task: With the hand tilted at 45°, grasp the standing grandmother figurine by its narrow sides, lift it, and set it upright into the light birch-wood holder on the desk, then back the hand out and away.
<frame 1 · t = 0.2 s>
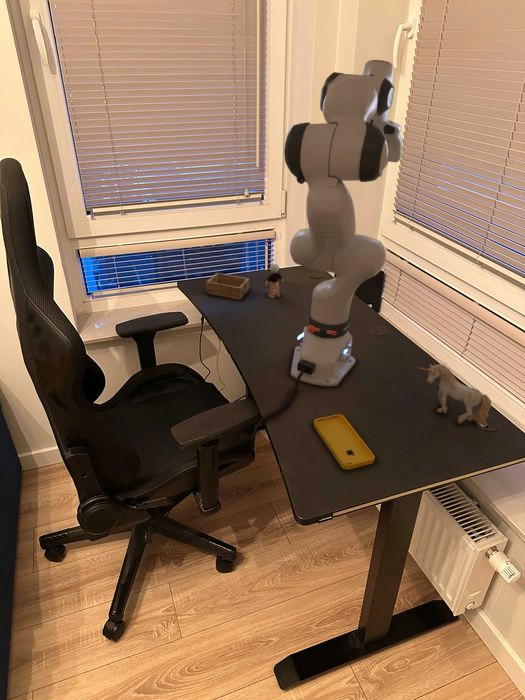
hand: (363, 174, 152), 48 cm above the table, tool pointing down, fingers open, 8 cm apart
holder: (228, 291, 190), on the table
unicorn figurine: (444, 419, 130), on the table
phone case: (342, 442, 121), on the table
grandmother figurine: (273, 296, 188), on the table
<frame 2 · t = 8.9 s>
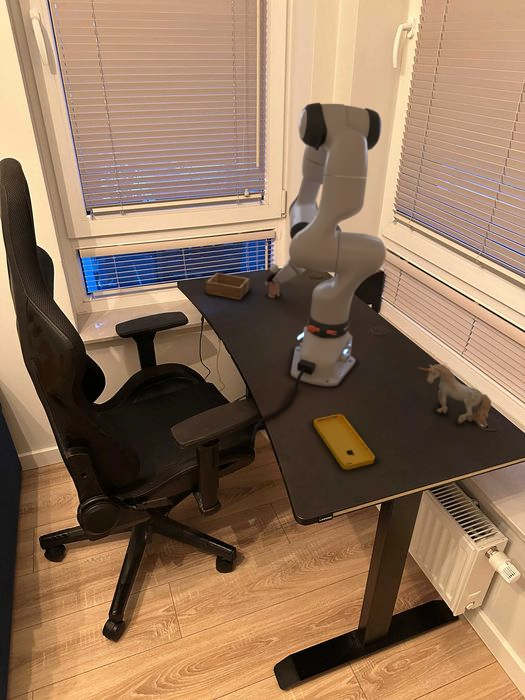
hand: (276, 278, 184), 7 cm above the table, tool tilted 45°, fingers closed on grandmother figurine, 4 cm apart
grandmother figurine: (273, 296, 188), on the table, touching gripper
everything else where it was.
when the fingers open (8 cm above the table, at t = 17.8 s): grandmother figurine stays where it is, resting on holder.
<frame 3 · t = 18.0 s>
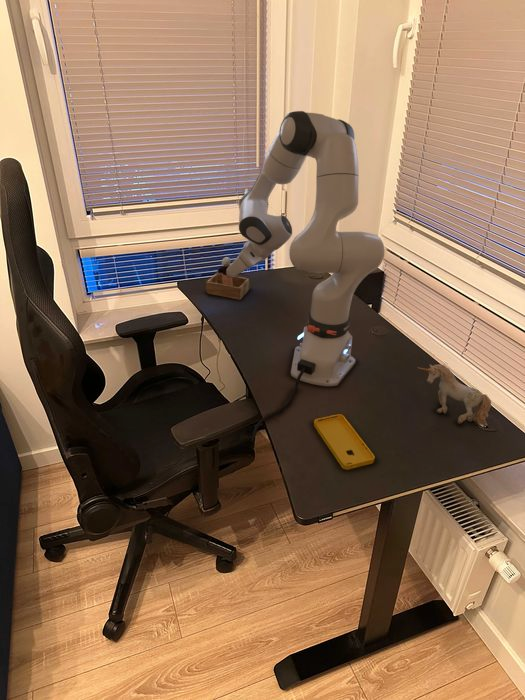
hand: (230, 271, 186), 8 cm above the table, tool tilted 45°, fingers open, 3 cm apart
grandmother figurine: (226, 289, 191), resting on holder, touching gripper
everything else where it was.
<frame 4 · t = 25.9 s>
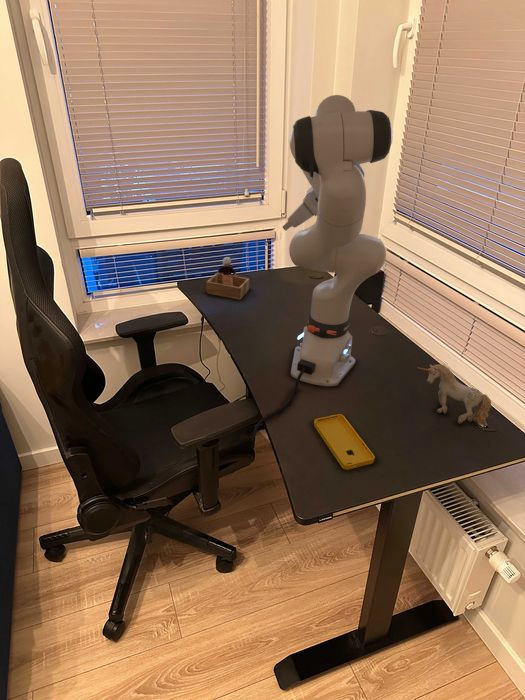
hand: (288, 224, 168), 29 cm above the table, tool tilted 45°, fingers open, 8 cm apart
grandmother figurine: (226, 289, 191), resting on holder
everything else where it was.
at the end: grandmother figurine inside the target area in the holder (1.1 cm from its centre), point 0.4 cm above the holder's base; grandmother figurine tilted 0°; the gripper is holding nothing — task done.
